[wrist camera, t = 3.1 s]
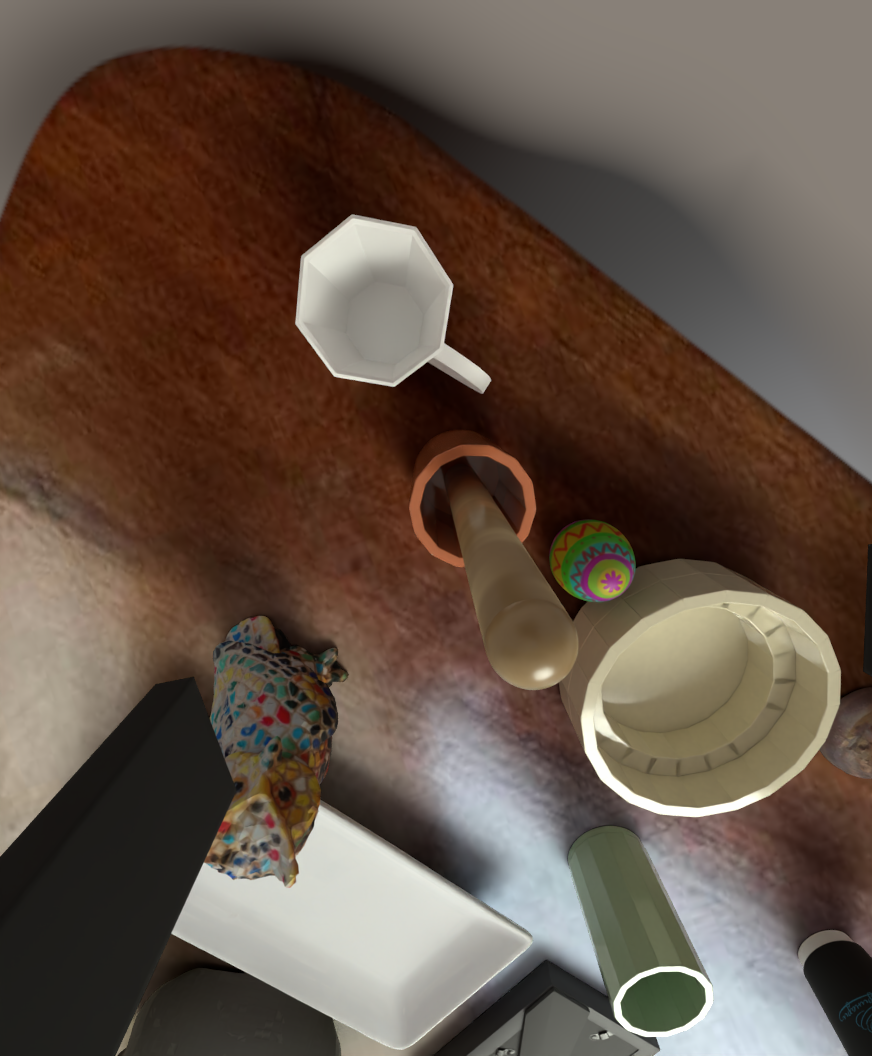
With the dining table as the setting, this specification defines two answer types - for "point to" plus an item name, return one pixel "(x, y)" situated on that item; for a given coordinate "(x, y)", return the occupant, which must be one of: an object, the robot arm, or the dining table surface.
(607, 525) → the egg
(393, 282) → the cup
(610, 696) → the bowl
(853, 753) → the mortar and pestle
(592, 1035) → the picture frame
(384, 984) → the tray
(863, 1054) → the dixie cup
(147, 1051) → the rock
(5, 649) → the dining table surface
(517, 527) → the holder
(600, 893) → the vase
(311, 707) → the figurine
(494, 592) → the stick
